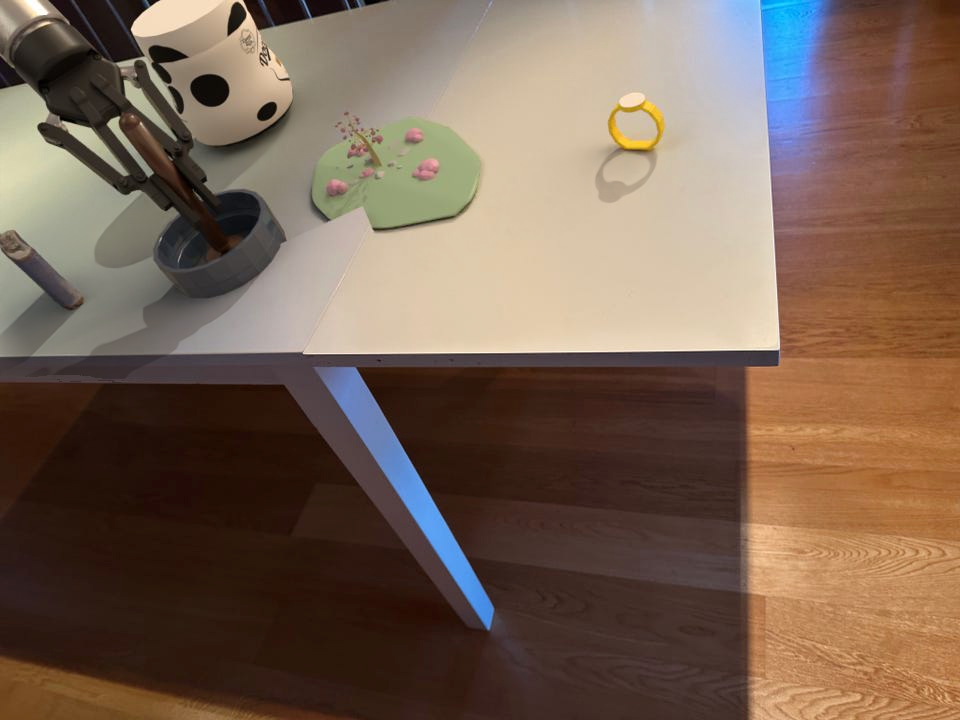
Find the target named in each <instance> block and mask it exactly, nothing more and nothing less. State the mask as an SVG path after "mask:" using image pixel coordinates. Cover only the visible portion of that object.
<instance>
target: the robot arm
mask: <svg viewBox="0 0 960 720" xmlns="http://www.w3.org/2000/svg"><path fill="white" fill-rule="evenodd" d="M0 57H1V58H2V59H3V60H4V61H5V63H7V64H8V65H9V66H10V67H11V68H13V69H14V70H15V72H16V74H17V75H18V76H19V77H20V78H21V79H22V80H23V81H24V82H25V83H26V84H27V85H28V86H29V87H30V88H31V89H32V90H33V91H34V92H35V93H36V94H37V95H38V96H39V97H40V98H41V99H42V100H43V101H44V103H45V107H46V109H47V111H48V112H49V113H48V115H47V117H46V119H45V121H41V122H39V123H38V124H37V126H36V128H37V131H38V132H39V134H40V136H41V137H42V138H43V140H44V141H45V142H46V143H47V144H49V145H51V146H54V147H57V148H60V149H63V150H65V151H66V152H67V153H68V154H70V155H72V156H73V157H74V158H75V159H76V160H78V161H79V162H80V163H82V165H84V166H85V167H86V168H88V169H89V170H90V171H92V172H93V173H94V174H96V175H97V176H98V177H100V178H101V179H102V180H103V181H105V182H106V184H108V185H110V186H111V187H112V188H113V189H115V190H116V192H118V193H120V194H121V195H123V196H129V195H131V193H132V192H136V191H141V192H142V193H145V195H147V196H148V198H150V200H152V202H154V204H155V205H157V207H158V208H159V209H160V210H162V211H163V212H168V211H170V209H172V208H173V209H174V210H175V211H176V212H177V213H178V214H180V215H181V216H182V217H183V218H184V219H185V220H186V221H187V222H188V223H189V224H190V225H191V226H192V227H193V228H194V229H195V230H196V231H198V230H200V229H201V228H202V224H201V220H200V218H199V217H198V216H197V215H196V214H195V213H194V212H193V211H192V210H191V209H190V208H189V207H188V206H187V205H186V204H185V203H184V202H183V201H182V200H181V199H180V198H179V197H178V196H177V195H176V194H175V193H174V192H173V191H172V190H171V189H170V188H169V187H168V186H167V185H166V184H165V183H164V181H163V180H162V179H161V178H160V177H159V176H158V175H157V174H156V173H154V172H153V173H152V174H151V175H149V176H148V175H147V173H146V172H145V170H143V168H142V167H141V165H140V164H139V162H137V161H136V159H135V158H134V156H132V154H131V153H130V151H129V150H128V149H127V148H126V147H125V145H124V144H123V143H122V141H121V140H120V139H119V138H118V137H117V135H116V134H115V133H114V131H113V130H112V129H111V128H110V126H109V125H108V123H110V122H111V120H113V119H115V118H120V117H121V116H122V115H124V114H127V113H131V114H135V115H137V116H138V117H139V118H140V119H141V120H142V122H143V123H144V124H145V126H146V127H147V128H148V130H149V131H150V132H151V134H152V135H153V137H154V138H155V139H156V141H157V142H158V143H159V145H160V146H161V147H162V149H163V150H164V151H165V153H166V154H167V156H168V157H169V158H170V160H171V161H172V162H173V164H174V165H175V166H176V168H177V169H178V171H179V172H180V173H181V175H182V176H183V177H184V179H185V180H186V181H187V183H188V184H189V185H190V187H191V188H192V189H193V191H194V192H195V194H196V195H197V196H198V198H199V199H200V200H201V199H202V200H203V201H204V202H205V203H206V204H207V205H208V206H209V207H210V208H211V209H212V210H213V211H214V212H215V213H216V214H217V215H219V214H220V213H221V212H223V207H222V202H221V201H220V200H219V199H218V198H217V197H216V196H215V195H214V194H215V193H213V191H212V190H211V189H209V188H208V186H207V185H205V183H207V182H208V177H207V173H206V171H205V170H204V169H203V168H202V167H201V166H200V165H199V164H198V163H197V162H196V161H195V160H194V159H193V158H192V157H191V156H190V155H189V153H190V151H191V150H193V149H194V147H195V143H194V137H193V135H192V134H191V132H190V131H189V129H188V128H187V127H186V125H185V124H184V123H183V121H182V120H181V119H180V117H179V116H178V114H177V112H176V110H174V109H175V108H173V107H172V105H171V104H170V103H169V101H168V100H167V99H166V97H165V96H164V95H163V93H162V92H161V90H160V89H159V88H158V87H157V85H156V84H155V83H154V81H153V80H152V79H151V76H150V72H149V69H148V65H147V63H146V61H144V60H143V59H136V60H135V61H134V62H133V65H126V66H119V65H118V64H117V63H115V62H114V61H112V60H108V59H107V58H105V57H104V56H102V54H101V53H100V52H99V51H98V50H97V49H96V48H95V46H94V45H92V44H91V43H90V42H89V41H88V40H87V39H86V38H85V37H84V35H82V33H81V32H79V30H78V29H77V28H76V27H75V26H73V25H71V24H70V21H69V20H68V19H67V18H66V17H65V15H63V14H62V13H61V12H60V11H59V10H58V9H57V8H56V7H55V6H54V4H53V3H51V2H50V0H0ZM125 81H127V82H130V84H131V85H132V86H131V87H133V88H135V89H138V90H141V93H142V94H143V95H144V98H145V99H146V100H147V101H148V103H149V104H150V105H151V107H152V108H153V110H154V111H155V112H156V113H157V115H158V116H159V117H160V119H161V120H162V121H163V123H164V124H165V126H167V128H168V129H169V131H170V132H171V133H172V134H173V136H174V138H175V139H176V140H175V139H174V138H173V137H171V136H170V135H169V134H168V133H167V132H166V131H164V129H162V128H161V127H159V125H157V124H156V123H155V122H154V121H152V120H151V119H150V118H149V117H148V116H146V114H144V113H143V112H142V111H141V110H140V109H138V108H137V107H136V106H135V105H134V104H133V103H132V102H131V101H130V99H128V98H127V95H126V88H125ZM63 122H65V123H68V124H73V125H77V126H81V127H84V128H88V129H91V130H92V131H93V132H94V134H95V135H96V136H97V138H98V139H99V140H100V141H101V142H102V143H103V145H104V146H105V147H106V148H107V150H109V152H110V153H111V154H112V156H113V157H114V158H115V160H116V161H117V162H118V163H119V164H120V166H121V167H122V168H123V170H124V171H125V173H127V175H124V174H122V173H121V172H119V171H118V170H117V169H116V168H115V167H113V166H112V165H110V164H109V163H108V162H106V160H104V159H103V158H102V157H100V155H98V154H97V153H95V152H94V151H93V150H91V148H89V146H87V145H86V144H84V143H83V142H82V141H81V140H79V139H78V138H76V136H74V135H73V134H72V133H70V131H69V128H68V127H67V126H66V125H65V124H64V123H63Z"/></svg>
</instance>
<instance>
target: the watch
mask: <svg viewBox="0 0 960 720" xmlns="http://www.w3.org/2000/svg"><path fill="white" fill-rule="evenodd" d="M620 111H621V112H623V113H625V114H630V113H635V112H638V111H642V112H643V113H646V114H648V115H649V117H650V118H651V119H652V120H653V121H654V123H655V127H656V130H657V133H656V136H655V138H653V139H652V140H631V139H629V138H627V137H626V136H624V135H623V134H622V133H621V131H620V129H619V127H618V126H617V120H616V115H617V113H618V112H620ZM607 127H608V133H609V135H610V136H611V138H612V140H613V141H614V143H616V145H618V146H620V147H621V148H622V149H624V150H629V151H630V150H633V151H636V150H637V151H638V150H639V151H648V152H649V151H651V150H653V148H655V147H656V146H657V145H658V144H659V142H660V140H661V139H662V137H663V134H664V131H665V128H666V123H665V119H664V115H663V113H662V112H661V111H660V110H659V108H658V107H657V106H656V105H655V104H654V103H652V102H650V101H648V100H647V99H646V95H645V94H644V93H641V92H631V93H627V94H625V95H623V96H622V97H621V98H620V99H619V100H618V103H617V104H616V105H615V106H614V107H613V110H611V112H610V115H609V118H608V120H607Z"/></svg>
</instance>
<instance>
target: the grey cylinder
mask: <svg viewBox="0 0 960 720" xmlns="http://www.w3.org/2000/svg"><path fill="white" fill-rule="evenodd" d="M0 250H1V252H2V253H3V254H4V255H5V256H6V257H7V259H9V260H10V261H11V262H12V263H13V264H15V265H16V266H17V267H18V268H19V269H20V270H21V271H22V272H23V273H24V274H25V275H26V276H28V277H29V278H30V279H31V280H32V281H33V282H34V283H35V284H36V285H37V286H38V287H39V288H40V289H42V290H43V292H44V293H46V294H47V295H48V296H49V297H50V298H51V299H52V300H53V301H54V303H55V302H56V303H57V304H58V305H60V306H61V307H62V308H65V309H67V310H75V309H78V308H79V305H81V304H82V303H84V296H83V294H82V293H81V292H80V291H78V290H77V289H76V288H75V287H74V286H73V285H72V284H71V283H69V282H68V280H66V278H64V276H62V275H61V274H60V273H59V272H58V271H57V270H56V269H55V268H54V267H53V266H52V265H51V264H50V263H49V262H48V261H47V260H46V259H45V258H44V257H43V256H42V255H41V254H40V253H39V252H38V251H37V249H35V248H34V247H33V246H31V245H29V243H28V242H27V241H25V240H24V239H23V238H22V237H21V236H20V234H19V233H18V232H17V231H16V230H14V229H11V230H9V229H8V230H6V231H4V232H0Z"/></svg>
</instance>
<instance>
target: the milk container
mask: <svg viewBox="0 0 960 720" xmlns="http://www.w3.org/2000/svg"><path fill="white" fill-rule="evenodd" d="M130 31H131V33H132V35H133V37H134V39H135V42H136V44H137V45H138V47H139V49H140V51H141V52H142V54H143V55H144V57H145V58H146V59H147V61H148V64H149V65H150V67H151V68H152V70H153V71H154V72H155V74H156V75H157V77H158V78H159V79H160V81H161V82H162V83H163V85H164V87H165V88H166V90H167V92H168V94H169V96H170V98H171V101H172V104H173V106H174V109H175V112H176V113H177V115H178V116H179V117H180V119H181V120H182V121H183V123H184V124H185V125H186V127H187V128H188V129H189V131H190V132H191V134H192V137H193V138H194V139H195V140H197V141H198V142H199V143H201V144H203V145H205V146H207V147H212V148H229V147H234V146H237V145H242V144H244V143H247V142H250V141H251V140H254V139H256V138H258V137H260V136H262V135H264V134H265V133H267V132H268V131H269V130H271V129H273V128H274V127H275V126H276V125H278V123H279V122H280V121H282V119H284V118H285V117H286V115H287V113H288V112H289V110H290V108H291V106H292V104H293V101H294V88H293V86H292V85H293V84H292V81H291V78H290V75H289V74H288V72H287V69H286V68H285V66H284V64H283V63H282V62H281V61H280V59H279V58H278V56H277V55H276V54H275V53H274V52H273V51H272V50H271V48H270V47H269V46H268V45H267V44H266V42H265V41H264V39H263V37H262V35H261V33H260V31H259V30H258V26H257V25H256V23H255V21H254V19H253V17H252V15H251V13H250V12H249V10H248V8H247V6H246V3H245V2H244V0H158V1H156V2H155V3H154V4H152V5H150V7H148V8H147V9H145V10H144V11H143V12H142V13H141V14H140V15H139V16H138V17H137V18H136V19H135V20H134V21H133V24H132V25H131V28H130Z"/></svg>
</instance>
